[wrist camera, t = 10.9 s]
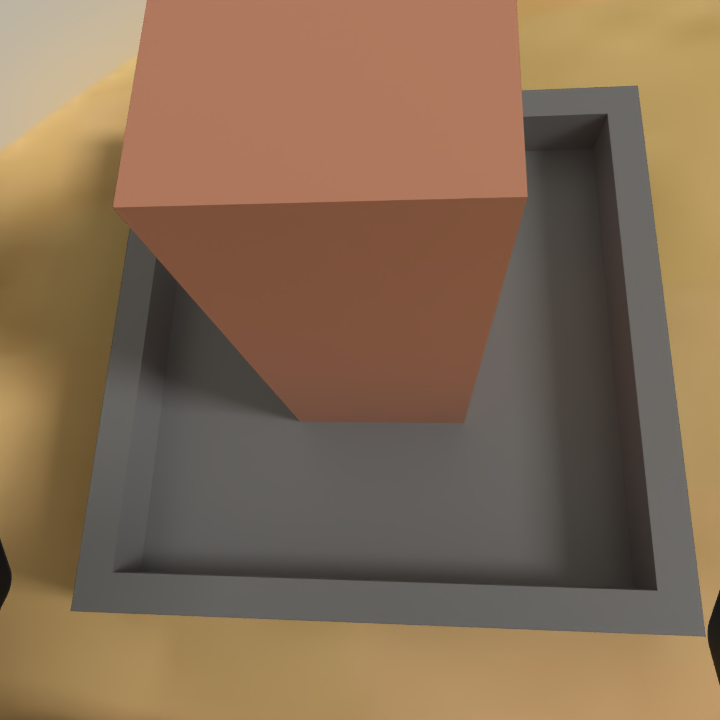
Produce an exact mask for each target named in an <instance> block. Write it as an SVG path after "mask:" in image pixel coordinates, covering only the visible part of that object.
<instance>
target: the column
mask: <svg viewBox="0 0 720 720" xmlns="http://www.w3.org/2000/svg"><path fill="white" fill-rule="evenodd" d="M527 197H528V195H527V177H526V159H525V142H524V124H523V106H522V88H521V70H520V53H519V35H518V17H517V0H147V3H146V10H145V15H144V22H143V27H142V34H141V39H140V45H139V52H138V58H137V64H136V70H135V76H134V82H133V88H132V94H131V100H130V106H129V112H128V118H127V124H126V130H125V136H124V142H123V148H122V154H121V160H120V166H119V172H118V178H117V184H116V190H115V196H114V203H113V208H114V210H115V211H116V212H117V213H118V214H119V215H120V216H121V218H122V219H123V220H124V221H125V222H126V223H127V224H128V226H129V227H130V228H131V229H132V230H133V231H134V232H135V234H136V235H137V236H138V237H139V238H140V239H141V240H142V242H143V243H144V244H145V245H146V246H147V247H148V248H149V250H150V251H151V252H152V253H153V254H154V255H155V256H156V258H157V259H158V260H159V261H160V262H161V263H162V264H163V266H164V267H165V268H166V269H167V270H168V271H169V272H170V274H171V275H172V276H173V277H174V278H175V279H176V280H177V282H178V283H179V284H180V285H181V286H182V287H183V288H184V290H185V291H186V292H187V293H188V294H189V295H190V296H191V298H192V299H193V300H194V301H195V302H196V303H197V304H198V306H199V307H200V308H201V309H202V310H203V311H204V312H205V314H206V315H207V316H208V317H209V318H210V319H211V320H212V322H213V323H214V324H215V325H216V326H217V327H218V328H219V330H220V331H221V332H222V333H223V334H224V335H225V336H226V338H227V339H228V340H229V341H230V342H231V343H232V344H233V346H234V347H235V348H236V349H237V350H238V351H239V352H240V354H241V355H242V356H243V357H244V358H245V359H246V360H247V362H248V363H249V364H250V365H251V366H252V367H253V368H254V370H255V371H256V372H257V373H258V374H259V375H260V376H261V378H262V379H263V380H264V381H265V382H266V383H267V384H268V386H269V387H270V388H271V389H272V390H273V391H274V392H275V394H276V395H277V396H278V397H279V398H280V399H281V400H282V402H283V403H284V404H285V405H286V406H287V407H288V408H289V410H290V411H291V412H292V413H293V414H294V415H295V416H296V418H297V419H298V420H299V421H300V422H393V423H464V421H465V418H466V414H467V411H468V407H469V403H470V400H471V396H472V393H473V389H474V386H475V382H476V379H477V375H478V371H479V368H480V364H481V361H482V357H483V354H484V350H485V347H486V343H487V339H488V336H489V332H490V329H491V325H492V322H493V318H494V315H495V311H496V307H497V304H498V300H499V297H500V293H501V290H502V286H503V283H504V279H505V275H506V272H507V268H508V265H509V261H510V258H511V254H512V251H513V247H514V243H515V240H516V236H517V233H518V229H519V226H520V222H521V219H522V215H523V211H524V208H525V204H526V201H527Z"/></svg>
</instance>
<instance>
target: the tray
mask: <svg viewBox="0 0 720 720" xmlns="http://www.w3.org/2000/svg"><path fill="white" fill-rule="evenodd" d="M522 106H523V124H524V142H525V159H526V177H527V195H528V197H527V201H526V204H525V208H524V211H523V215H522V219H521V222H520V226H519V229H518V233H517V236H516V240H515V243H514V247H513V251H512V254H511V258H510V261H509V265H508V268H507V272H506V275H505V279H504V283H503V286H502V290H501V293H500V297H499V300H498V304H497V307H496V311H495V315H494V318H493V322H492V325H491V329H490V332H489V336H488V339H487V343H486V347H485V350H484V354H483V357H482V361H481V364H480V368H479V371H478V375H477V379H476V382H475V386H474V389H473V393H472V396H471V400H470V403H469V407H468V411H467V414H466V418H465V421H464V423H393V422H300V421H299V420H298V419H297V418H296V416H295V415H294V414H293V413H292V412H291V411H290V410H289V408H288V407H287V406H286V405H285V404H284V403H283V402H282V400H281V399H280V398H279V397H278V396H277V395H276V394H275V392H274V391H273V390H272V389H271V388H270V387H269V386H268V384H267V383H266V382H265V381H264V380H263V379H262V378H261V376H260V375H259V374H258V373H257V372H256V371H255V370H254V368H253V367H252V366H251V365H250V364H249V363H248V362H247V360H246V359H245V358H244V357H243V356H242V355H241V354H240V352H239V351H238V350H237V349H236V348H235V347H234V346H233V344H232V343H231V342H230V341H229V340H228V339H227V338H226V336H225V335H224V334H223V333H222V332H221V331H220V330H219V328H218V327H217V326H216V325H215V324H214V323H213V322H212V320H211V319H210V318H209V317H208V316H207V315H206V314H205V312H204V311H203V310H202V309H201V308H200V307H199V306H198V304H197V303H196V302H195V301H194V300H193V299H192V298H191V296H190V295H189V294H188V293H187V292H186V291H185V290H184V288H183V287H182V286H181V285H180V284H179V283H178V282H177V280H176V279H175V278H174V277H173V276H172V275H171V274H170V272H169V271H168V270H167V269H166V268H165V267H164V266H163V264H162V263H161V262H160V261H159V260H158V259H157V258H156V256H155V255H154V254H153V253H152V252H151V251H150V250H149V248H148V247H147V246H146V245H145V244H144V243H143V242H142V240H141V239H140V238H139V237H138V236H137V235H136V234H135V232H134V231H133V230H132V229H131V228H130V230H129V237H128V243H127V249H126V256H125V262H124V269H123V275H122V282H121V288H120V295H119V301H118V308H117V314H116V321H115V327H114V334H113V340H112V347H111V353H110V360H109V366H108V373H107V379H106V386H105V392H104V399H103V405H102V412H101V418H100V425H99V431H98V437H97V444H96V450H95V457H94V463H93V470H92V476H91V483H90V489H89V496H88V502H87V509H86V515H85V522H84V528H83V535H82V541H81V548H80V554H79V561H78V567H77V574H76V580H75V587H74V593H73V600H72V606H71V611H81V612H106V613H131V614H156V615H181V616H206V617H231V618H256V619H281V620H305V621H330V622H355V623H380V624H405V625H430V626H455V627H480V628H505V629H530V630H555V631H580V632H605V633H630V634H655V635H680V636H704V637H706V635H705V627H704V619H703V611H702V603H701V595H700V586H699V578H698V570H697V562H696V554H695V546H694V538H693V530H692V522H691V513H690V505H689V497H688V489H687V481H686V473H685V465H684V457H683V449H682V440H681V432H680V424H679V416H678V408H677V400H676V392H675V384H674V376H673V367H672V359H671V351H670V343H669V335H668V327H667V319H666V311H665V303H664V295H663V286H662V278H661V270H660V262H659V254H658V246H657V238H656V230H655V222H654V213H653V205H652V197H651V189H650V181H649V173H648V165H647V157H646V149H645V140H644V132H643V124H642V116H641V108H640V100H639V92H638V86H618V87H594V88H571V89H547V90H523V91H522Z"/></svg>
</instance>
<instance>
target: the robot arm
mask: <svg viewBox="0 0 720 720" xmlns="http://www.w3.org/2000/svg"><path fill="white" fill-rule="evenodd" d="M11 579H12V578H11V570H10V567H9V564H8V561H7V558H6V555H5V552H4V549H3V546H2V543H1V540H0V609H1V607H2V605H3V603H4V601H5V599H6V597H7V595H8V592H9V589H10V586H11ZM708 643H709V648H710V651H711V655H712V659H713V662H714V666H715V670H716V673H717V677H718V681H719V684H720V591H719V594H718V597H717V600H716V603H715V606H714V609H713V612H712V615H711V618H710V621H709V625H708Z"/></svg>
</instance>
